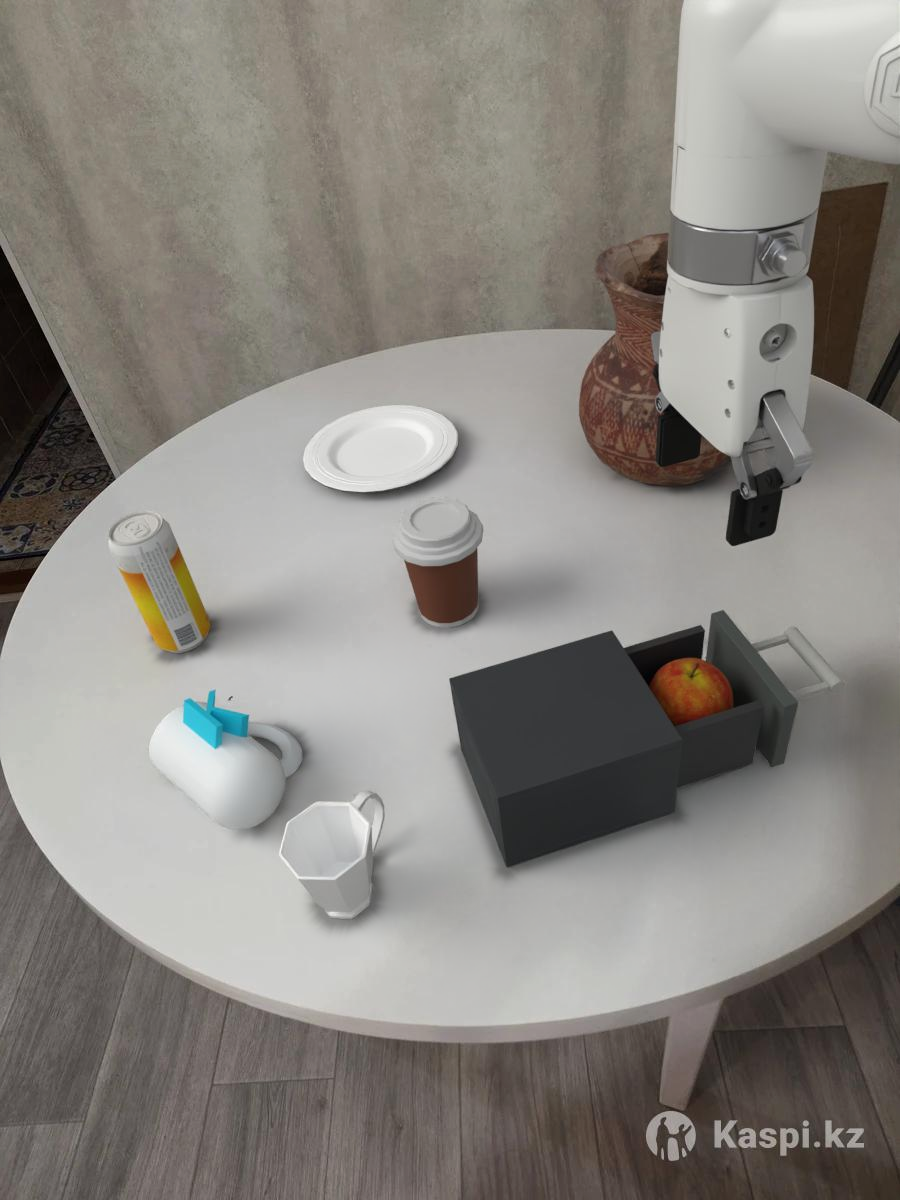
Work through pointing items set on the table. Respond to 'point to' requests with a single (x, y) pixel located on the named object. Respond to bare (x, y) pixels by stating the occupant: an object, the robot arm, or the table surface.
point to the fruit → (691, 690)
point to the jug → (634, 371)
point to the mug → (224, 761)
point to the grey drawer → (736, 696)
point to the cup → (335, 853)
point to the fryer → (565, 746)
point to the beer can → (159, 580)
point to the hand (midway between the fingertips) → (711, 497)
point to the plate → (380, 449)
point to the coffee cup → (441, 558)
